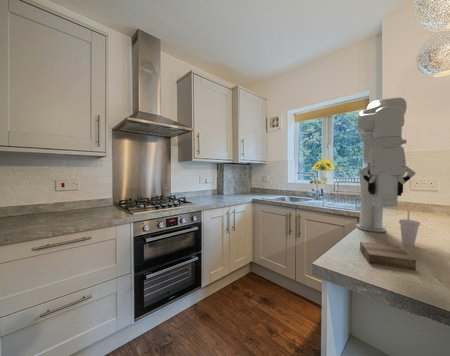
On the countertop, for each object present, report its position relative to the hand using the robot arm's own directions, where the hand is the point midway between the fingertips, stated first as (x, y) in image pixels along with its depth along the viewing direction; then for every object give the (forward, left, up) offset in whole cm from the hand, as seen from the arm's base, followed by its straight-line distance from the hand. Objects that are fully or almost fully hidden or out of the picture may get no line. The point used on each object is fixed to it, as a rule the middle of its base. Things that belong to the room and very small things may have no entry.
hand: (384, 194), depth 71 cm
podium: (+2, 0, -22) cm, 22 cm away
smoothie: (-18, +14, -22) cm, 32 cm away
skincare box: (0, 0, -4) cm, 4 cm away
